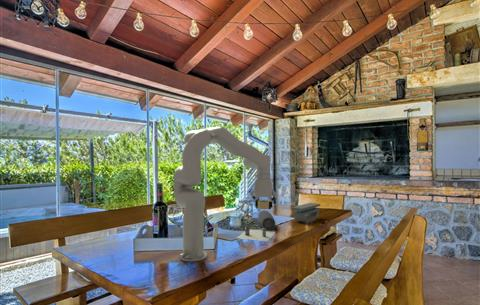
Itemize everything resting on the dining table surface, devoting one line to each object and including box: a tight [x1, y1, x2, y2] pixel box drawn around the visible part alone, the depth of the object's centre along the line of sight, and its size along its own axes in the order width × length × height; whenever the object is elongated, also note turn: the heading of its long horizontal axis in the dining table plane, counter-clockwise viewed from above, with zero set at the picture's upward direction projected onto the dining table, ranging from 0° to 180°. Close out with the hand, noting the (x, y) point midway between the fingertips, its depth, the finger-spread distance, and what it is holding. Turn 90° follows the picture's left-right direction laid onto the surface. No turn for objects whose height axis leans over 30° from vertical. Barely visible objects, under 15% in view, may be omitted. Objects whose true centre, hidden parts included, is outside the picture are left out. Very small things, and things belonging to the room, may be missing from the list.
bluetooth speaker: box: [257, 209, 276, 231], centre depth 187 cm, size 23×9×10 cm, turn 2°
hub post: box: [244, 225, 250, 236], centre depth 166 cm, size 3×3×5 cm
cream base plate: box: [236, 227, 276, 242], centre depth 166 cm, size 20×18×6 cm
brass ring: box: [256, 199, 270, 210], centre depth 162 cm, size 7×7×4 cm
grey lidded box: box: [291, 202, 321, 224], centre depth 206 cm, size 25×8×11 cm, turn 135°
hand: (263, 207), depth 162 cm, fingers closed on brass ring, 6 cm apart
